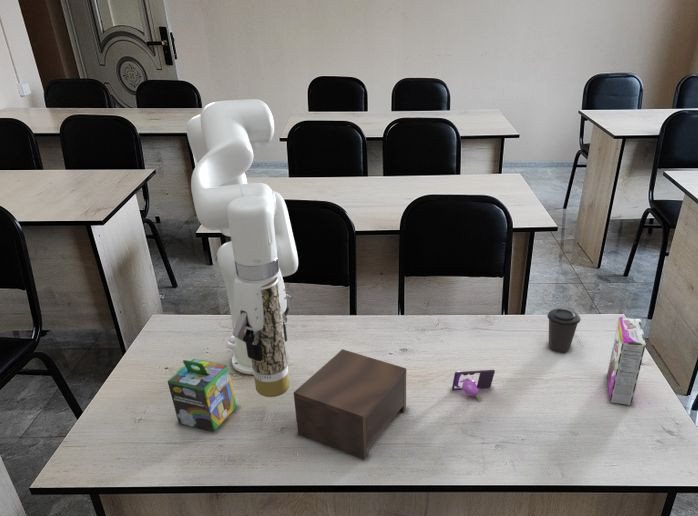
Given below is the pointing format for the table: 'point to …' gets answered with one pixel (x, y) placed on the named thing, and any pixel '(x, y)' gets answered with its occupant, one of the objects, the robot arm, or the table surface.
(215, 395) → the chalk box
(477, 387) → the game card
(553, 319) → the coffee cup
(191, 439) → the table surface
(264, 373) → the paper tube
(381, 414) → the walnut storage box
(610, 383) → the candy bar box
